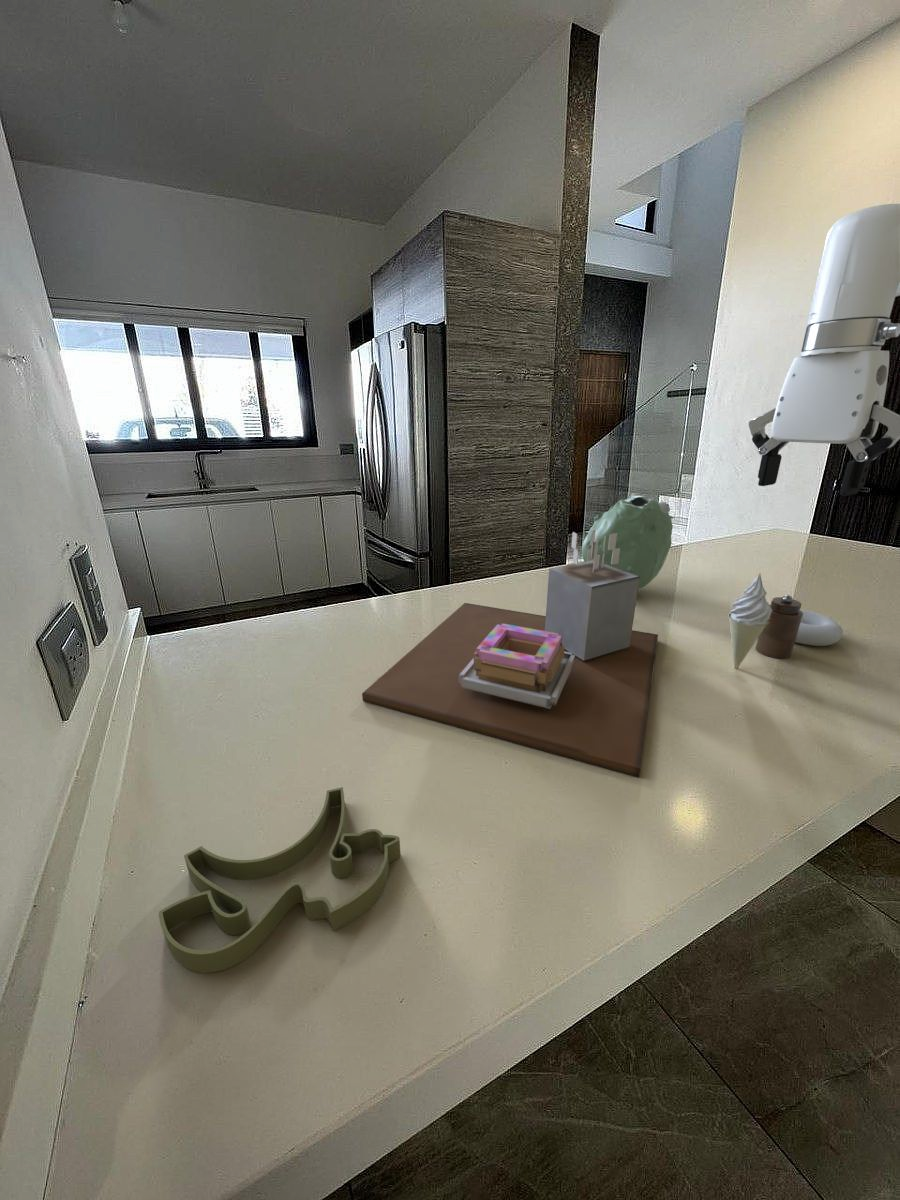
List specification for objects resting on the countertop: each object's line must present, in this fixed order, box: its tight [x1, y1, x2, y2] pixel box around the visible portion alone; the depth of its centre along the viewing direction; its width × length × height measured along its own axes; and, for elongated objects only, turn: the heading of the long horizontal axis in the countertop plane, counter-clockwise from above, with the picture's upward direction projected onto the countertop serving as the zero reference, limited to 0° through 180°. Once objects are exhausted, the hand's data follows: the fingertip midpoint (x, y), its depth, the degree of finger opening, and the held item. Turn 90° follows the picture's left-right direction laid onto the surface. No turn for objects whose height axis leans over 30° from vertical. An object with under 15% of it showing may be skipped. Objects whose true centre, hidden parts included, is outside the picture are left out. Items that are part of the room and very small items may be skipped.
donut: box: [795, 609, 844, 647], centre depth 81 cm, size 10×4×10 cm
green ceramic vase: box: [581, 492, 675, 590], centre depth 99 cm, size 16×19×20 cm
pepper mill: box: [755, 594, 803, 660], centre depth 74 cm, size 5×5×10 cm
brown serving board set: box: [361, 529, 659, 778], centre depth 69 cm, size 35×35×19 cm
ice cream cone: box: [727, 572, 772, 669], centre depth 69 cm, size 5×5×15 cm
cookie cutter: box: [158, 786, 401, 974], centre depth 40 cm, size 18×12×2 cm, turn 123°
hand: (804, 489), depth 62 cm, fingers open, 9 cm apart
